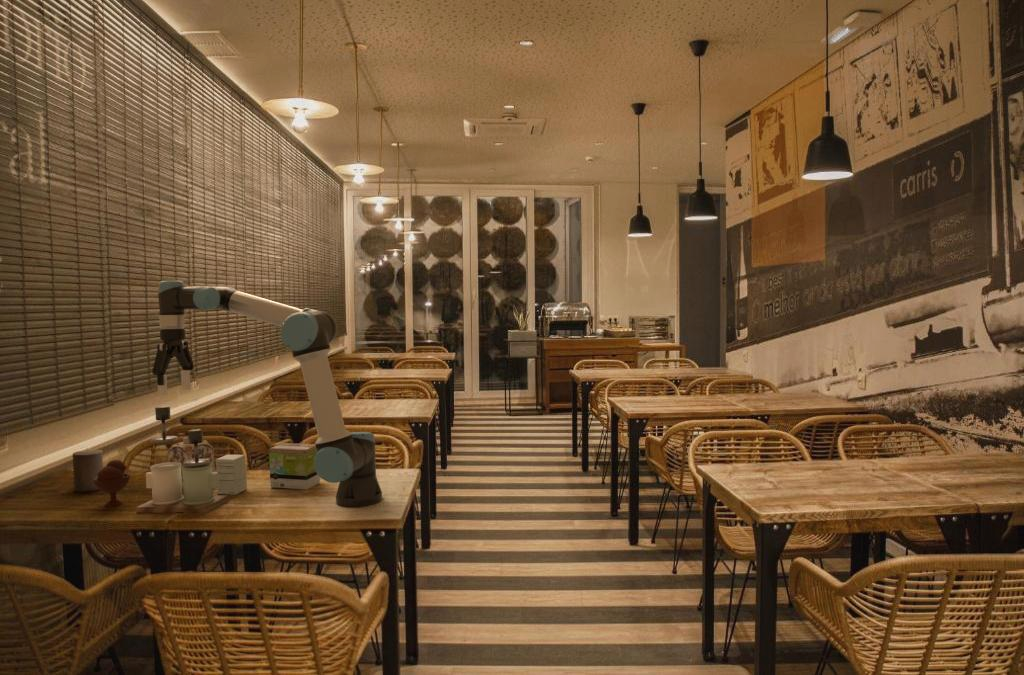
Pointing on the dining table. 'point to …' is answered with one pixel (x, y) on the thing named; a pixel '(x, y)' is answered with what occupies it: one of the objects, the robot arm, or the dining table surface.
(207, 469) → the sage press body
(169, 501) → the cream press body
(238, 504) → the dining table surface
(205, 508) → the walnut board
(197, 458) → the sage plunger
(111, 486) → the ice cream bowl
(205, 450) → the decorative jar
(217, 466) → the supplement box
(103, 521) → the dining table surface
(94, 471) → the pillar candle
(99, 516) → the dining table surface
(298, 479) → the tea box
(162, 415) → the cream press plunger
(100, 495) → the dining table surface
